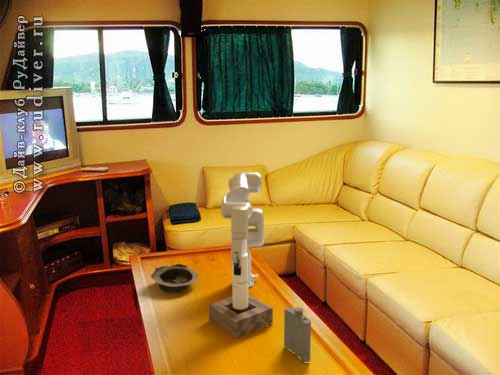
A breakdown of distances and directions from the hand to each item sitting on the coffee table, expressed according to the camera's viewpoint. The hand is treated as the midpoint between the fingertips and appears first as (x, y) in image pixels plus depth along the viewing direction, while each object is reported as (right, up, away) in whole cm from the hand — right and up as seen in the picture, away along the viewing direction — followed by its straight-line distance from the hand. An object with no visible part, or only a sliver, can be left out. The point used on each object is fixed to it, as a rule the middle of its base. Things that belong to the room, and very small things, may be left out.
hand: (240, 271), depth 226 cm
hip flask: (+24, -30, -21) cm, 44 cm away
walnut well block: (0, -25, +6) cm, 25 cm away
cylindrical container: (0, -17, +4) cm, 17 cm away
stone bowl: (-36, -16, +45) cm, 60 cm away
